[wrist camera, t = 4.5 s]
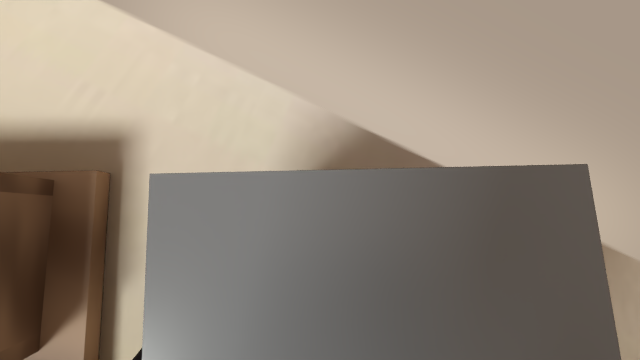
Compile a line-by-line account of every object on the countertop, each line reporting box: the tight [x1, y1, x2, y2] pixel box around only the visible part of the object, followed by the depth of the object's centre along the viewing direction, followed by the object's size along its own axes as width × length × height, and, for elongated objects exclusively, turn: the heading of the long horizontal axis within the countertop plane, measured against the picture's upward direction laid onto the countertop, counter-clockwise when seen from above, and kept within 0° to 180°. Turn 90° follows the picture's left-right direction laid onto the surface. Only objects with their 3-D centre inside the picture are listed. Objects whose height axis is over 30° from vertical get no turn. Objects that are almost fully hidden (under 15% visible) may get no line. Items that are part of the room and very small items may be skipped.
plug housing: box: [142, 164, 621, 360], centre depth 9 cm, size 4×4×13 cm
